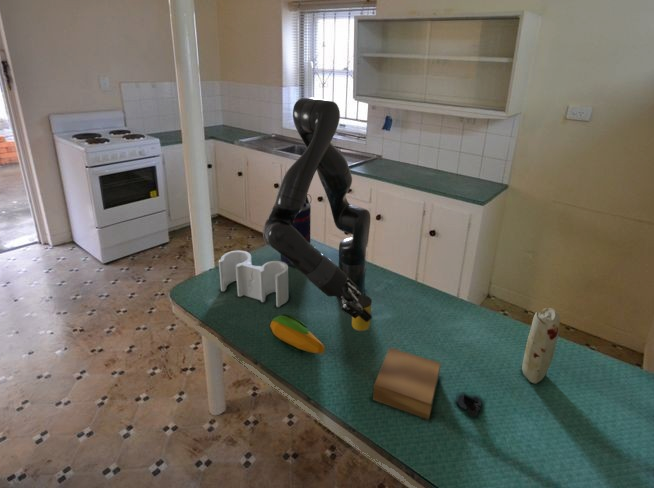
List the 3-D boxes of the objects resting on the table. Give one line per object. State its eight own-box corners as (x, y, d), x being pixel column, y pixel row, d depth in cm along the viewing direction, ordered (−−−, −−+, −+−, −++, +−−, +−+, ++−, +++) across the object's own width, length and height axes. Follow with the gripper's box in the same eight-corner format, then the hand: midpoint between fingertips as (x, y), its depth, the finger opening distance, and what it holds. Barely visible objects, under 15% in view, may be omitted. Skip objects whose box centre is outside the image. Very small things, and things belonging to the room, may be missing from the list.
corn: (280, 303, 124) (333, 331, 113) (282, 323, 127) (333, 351, 116) (263, 317, 118) (316, 347, 107) (265, 337, 121) (317, 368, 110)
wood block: (388, 361, 113) (389, 347, 111) (438, 377, 108) (440, 362, 107) (372, 399, 101) (374, 384, 99) (429, 419, 96) (431, 404, 94)
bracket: (294, 293, 142) (293, 263, 138) (280, 309, 133) (279, 277, 129) (234, 276, 151) (232, 247, 146) (218, 290, 142) (215, 260, 138)
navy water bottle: (298, 271, 155) (298, 199, 145) (274, 262, 161) (272, 192, 150) (318, 256, 167) (319, 188, 156) (295, 248, 172) (294, 182, 162)
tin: (357, 316, 115) (358, 292, 112) (373, 323, 112) (374, 299, 109) (348, 326, 111) (349, 302, 108) (364, 333, 108) (365, 308, 105)
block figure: (462, 384, 103) (485, 394, 101) (461, 391, 104) (483, 401, 101) (455, 401, 99) (479, 412, 96) (454, 408, 99) (477, 419, 97)
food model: (545, 391, 105) (562, 329, 98) (517, 380, 108) (532, 319, 101) (548, 367, 113) (565, 308, 106) (523, 357, 116) (537, 299, 109)
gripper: (336, 281, 98) (382, 321, 102) (334, 251, 111) (375, 288, 116) (314, 300, 99) (360, 338, 104) (314, 268, 113) (355, 304, 117)
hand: (368, 312), depth 110 cm, fingers closed on tin, 5 cm apart
